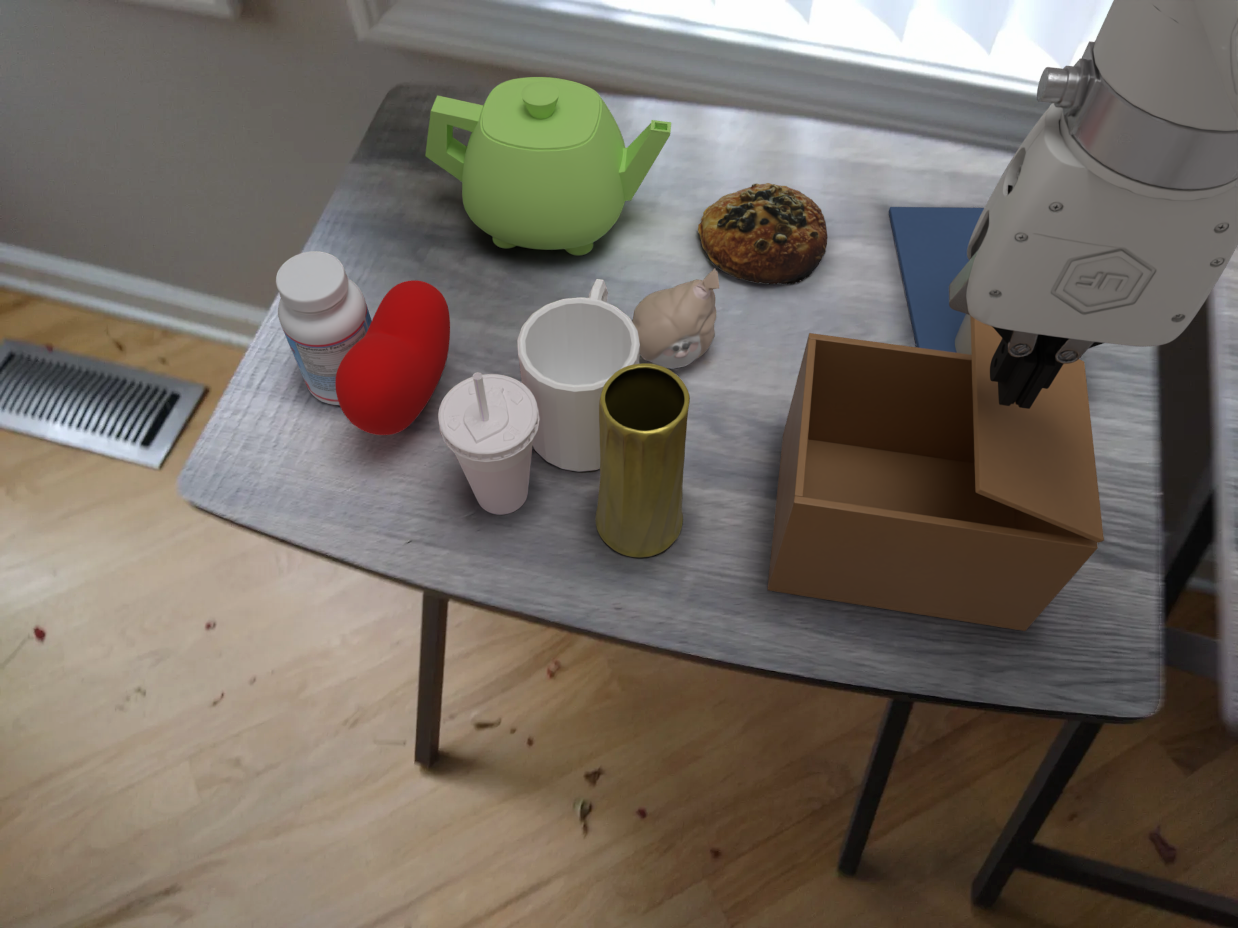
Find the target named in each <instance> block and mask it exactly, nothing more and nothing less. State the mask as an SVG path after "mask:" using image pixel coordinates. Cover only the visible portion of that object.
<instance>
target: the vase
mask: <svg viewBox="0 0 1238 928" xmlns="http://www.w3.org/2000/svg"><path fill="white" fill-rule="evenodd" d="M690 400H691V397H690V392H689V389H688V388H687V386H686V384H685V382H684V381H683V379H682V378H681V377H680V376H678V374H676V373H675V372H673V371H672V370H670V368H665V367H662V366H659V365H656V364H654V363H650V362H648V363H646V362H645V363H639V364H634V365H629V366H626V367H624V368H622V369H620V370H618V371H617V372H615V373H614V374H613V375H612V376H611V377H610V378H609V379H608V380H607V382H606V383H605V385H604V387H603V389H602V392H601V396H600V401H599V428H600V469H599V486H598V494H597V495H598V496H597V507H596V511H595V517H594V518H595V519H594V521H595V527H596V530H597V532H598V534H599V537H600V538H601V540H602V541H603V542H604V543H605V544H606V545H607V546H608V547H610V548H611V549H612V550H614V552H616V553H619V554H621V555H623V556H627V557H630V558H648V557H653V556H655V555H659V554H662V553H663V552H664V551H666V550H667V549H668V548H669V547H670V546H672V545H673V543H675V541H677V540H678V538H679V536H680V534H681V532H682V528H683V523H684V515H683V514H684V513H683V509H682V508H683V507H682V506H683V495H684V494H683V493H684V492H683V491H684V490H683V487H684V486H683V484H684V483H683V482H684V470H685V469H684V468H685V456H686V454H685V453H686V441H687V430H688V417H689V410H690V409H689V408H690V402H691V401H690Z"/></svg>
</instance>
